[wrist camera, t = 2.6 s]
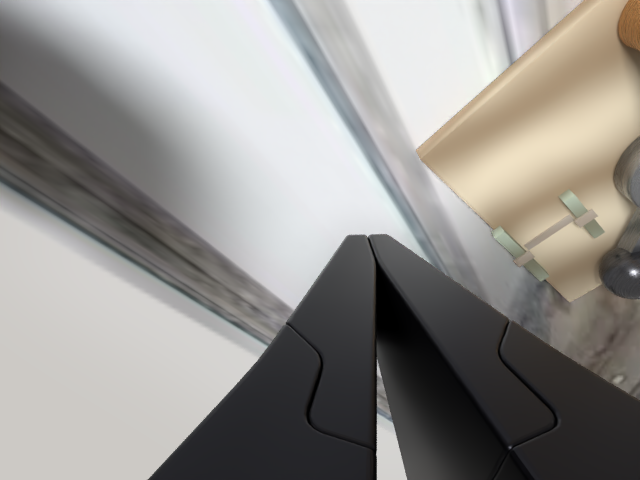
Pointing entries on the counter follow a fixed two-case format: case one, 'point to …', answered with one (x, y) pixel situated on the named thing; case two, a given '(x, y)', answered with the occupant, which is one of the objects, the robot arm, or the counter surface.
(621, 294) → the capstan
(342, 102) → the counter surface
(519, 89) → the wooden cutting board
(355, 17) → the counter surface
